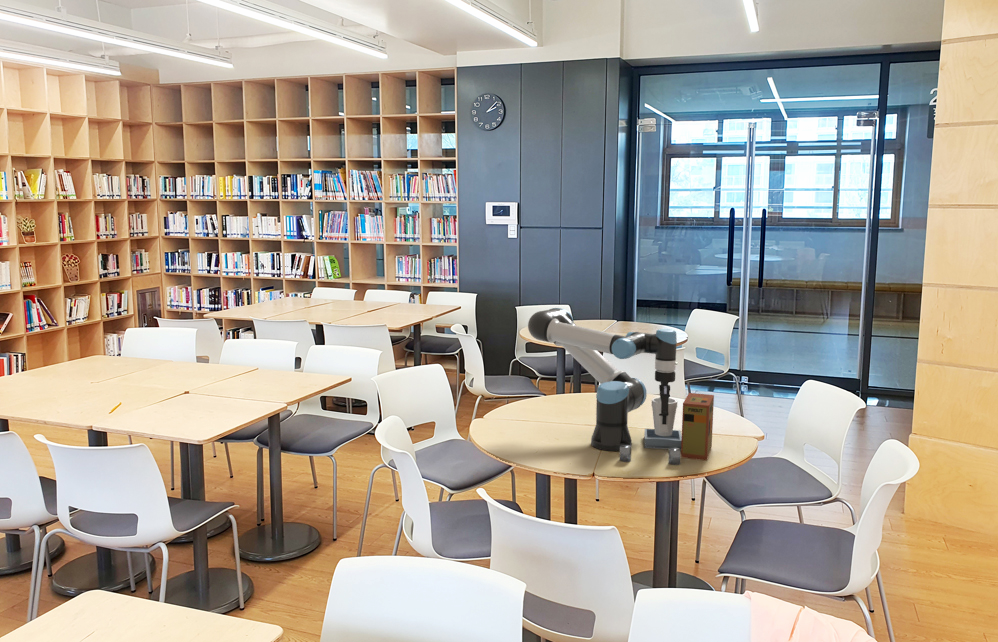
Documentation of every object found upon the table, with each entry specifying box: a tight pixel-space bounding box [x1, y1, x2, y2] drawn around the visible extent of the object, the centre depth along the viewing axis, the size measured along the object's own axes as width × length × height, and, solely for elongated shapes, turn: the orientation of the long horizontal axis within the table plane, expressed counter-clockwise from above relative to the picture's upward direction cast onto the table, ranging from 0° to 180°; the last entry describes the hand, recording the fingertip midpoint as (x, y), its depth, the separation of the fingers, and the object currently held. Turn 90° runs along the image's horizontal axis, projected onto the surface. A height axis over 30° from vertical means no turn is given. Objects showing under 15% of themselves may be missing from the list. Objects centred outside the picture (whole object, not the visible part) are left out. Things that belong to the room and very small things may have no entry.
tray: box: [643, 428, 682, 450], centre depth 285 cm, size 14×14×4 cm
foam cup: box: [651, 397, 678, 436], centre depth 284 cm, size 10×9×13 cm
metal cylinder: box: [618, 445, 632, 463], centre depth 266 cm, size 4×4×5 cm
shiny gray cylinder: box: [668, 448, 681, 466], centre depth 262 cm, size 4×4×5 cm
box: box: [680, 392, 715, 461], centre depth 274 cm, size 17×9×20 cm, turn 159°
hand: (663, 428), depth 284 cm, fingers closed on foam cup, 9 cm apart
